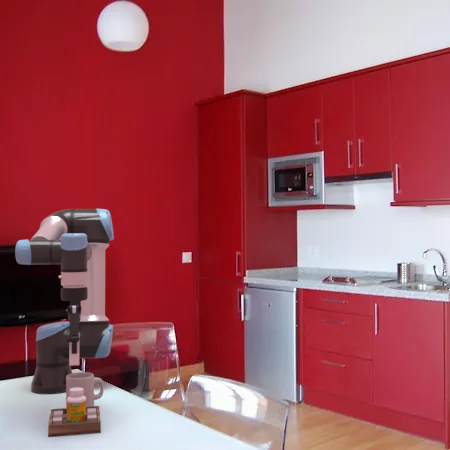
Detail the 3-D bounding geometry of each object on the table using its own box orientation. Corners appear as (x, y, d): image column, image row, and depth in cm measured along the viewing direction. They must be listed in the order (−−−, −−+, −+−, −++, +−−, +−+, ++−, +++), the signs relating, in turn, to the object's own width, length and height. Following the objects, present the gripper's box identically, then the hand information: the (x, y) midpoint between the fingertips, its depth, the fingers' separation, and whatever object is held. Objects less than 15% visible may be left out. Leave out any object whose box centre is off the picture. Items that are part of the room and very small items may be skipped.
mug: (71, 416, 183) (71, 379, 183) (62, 409, 190) (62, 374, 190) (108, 409, 190) (108, 374, 190) (98, 403, 197) (98, 369, 197)
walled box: (51, 419, 180) (51, 408, 180) (99, 415, 183) (99, 404, 183) (48, 436, 164) (48, 424, 164) (100, 432, 167) (100, 420, 167)
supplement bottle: (69, 426, 170) (69, 392, 170) (65, 421, 175) (64, 388, 175) (88, 424, 172) (88, 389, 173) (83, 419, 177) (83, 385, 177)
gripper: (62, 283, 186) (62, 352, 186) (59, 291, 162) (59, 370, 162) (87, 282, 188) (87, 350, 188) (88, 290, 163) (88, 368, 163)
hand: (74, 360), depth 175 cm, fingers open, 13 cm apart
